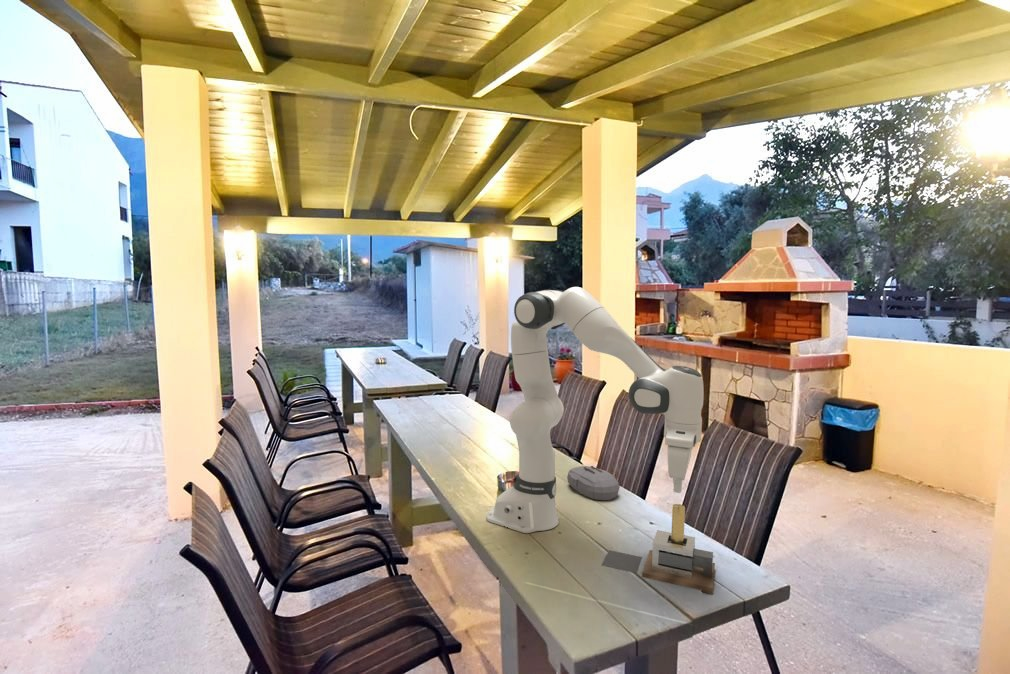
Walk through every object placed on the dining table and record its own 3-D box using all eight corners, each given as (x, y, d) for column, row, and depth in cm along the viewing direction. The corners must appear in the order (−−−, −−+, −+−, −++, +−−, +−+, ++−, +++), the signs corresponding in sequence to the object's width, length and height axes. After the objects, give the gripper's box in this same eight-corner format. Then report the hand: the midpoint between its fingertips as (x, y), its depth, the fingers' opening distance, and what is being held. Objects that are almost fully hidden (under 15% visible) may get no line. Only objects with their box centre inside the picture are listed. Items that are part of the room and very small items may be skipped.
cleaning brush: (561, 486, 194) (593, 505, 176) (562, 464, 193) (594, 481, 175) (594, 480, 201) (629, 498, 183) (595, 458, 200) (629, 475, 182)
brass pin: (669, 568, 133) (672, 507, 131) (670, 562, 136) (673, 503, 134) (681, 571, 132) (684, 509, 130) (682, 565, 134) (685, 505, 133)
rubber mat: (601, 567, 136) (601, 565, 136) (608, 551, 144) (608, 549, 144) (636, 574, 132) (636, 573, 132) (642, 558, 140) (642, 557, 140)
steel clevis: (651, 569, 132) (652, 542, 132) (656, 555, 139) (657, 530, 139) (711, 582, 126) (712, 554, 126) (712, 567, 134) (713, 540, 133)
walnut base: (641, 578, 131) (642, 572, 131) (649, 555, 143) (649, 549, 142) (712, 594, 124) (713, 588, 124) (714, 568, 136) (714, 563, 136)
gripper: (673, 421, 141) (671, 470, 143) (664, 439, 123) (661, 496, 124) (698, 424, 139) (695, 474, 140) (692, 443, 120) (689, 501, 121)
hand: (679, 485), depth 132 cm, fingers open, 8 cm apart
